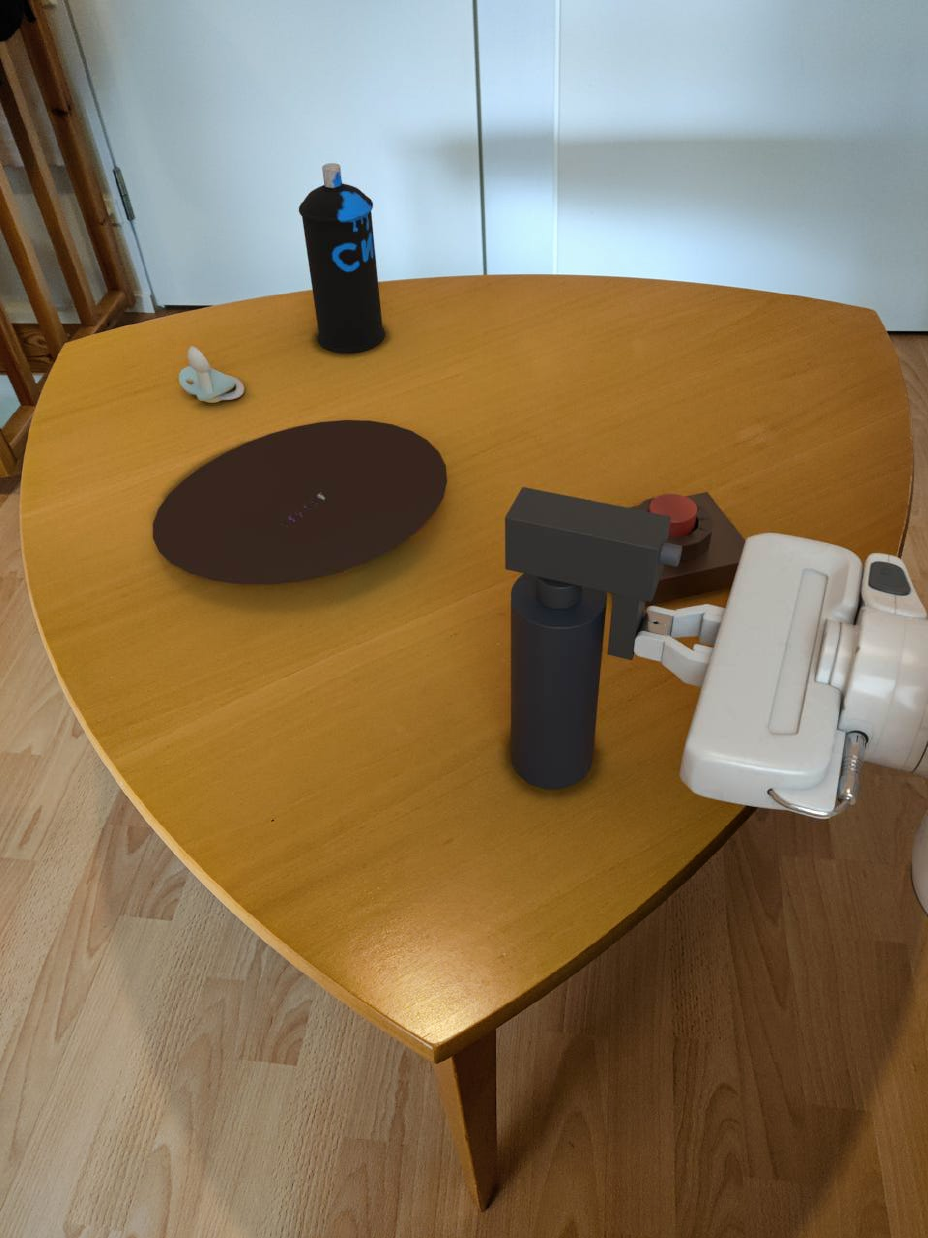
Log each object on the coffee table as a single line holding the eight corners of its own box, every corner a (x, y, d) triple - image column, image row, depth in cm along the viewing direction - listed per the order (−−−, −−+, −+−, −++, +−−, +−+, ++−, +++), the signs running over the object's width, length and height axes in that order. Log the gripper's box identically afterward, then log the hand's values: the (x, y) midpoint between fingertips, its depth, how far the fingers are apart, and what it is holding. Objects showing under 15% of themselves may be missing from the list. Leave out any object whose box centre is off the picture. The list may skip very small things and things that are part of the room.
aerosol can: (303, 342, 120) (276, 171, 106) (347, 315, 125) (326, 147, 111) (356, 360, 117) (335, 185, 103) (399, 331, 121) (384, 160, 108)
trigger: (641, 635, 63) (649, 573, 60) (631, 661, 62) (639, 599, 58) (616, 629, 64) (623, 568, 60) (606, 655, 62) (612, 593, 59)
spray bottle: (655, 751, 73) (693, 504, 58) (635, 815, 69) (670, 568, 54) (525, 716, 76) (529, 473, 60) (499, 776, 72) (496, 531, 56)
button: (682, 506, 88) (685, 489, 86) (702, 533, 85) (705, 516, 84) (640, 514, 87) (642, 498, 86) (658, 542, 84) (661, 525, 83)
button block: (703, 514, 93) (710, 475, 90) (754, 582, 86) (763, 541, 83) (582, 539, 91) (585, 499, 88) (624, 610, 84) (628, 570, 81)
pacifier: (220, 373, 116) (175, 391, 113) (210, 322, 111) (164, 340, 108) (257, 396, 112) (211, 415, 109) (248, 344, 108) (201, 363, 104)
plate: (294, 405, 110) (289, 375, 107) (505, 487, 97) (505, 455, 95) (92, 538, 94) (80, 507, 91) (314, 657, 81) (308, 625, 79)
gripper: (841, 861, 53) (590, 788, 57) (875, 612, 67) (671, 568, 71) (870, 789, 49) (596, 716, 53) (901, 539, 62) (681, 496, 66)
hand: (639, 629), depth 62 cm, fingers closed, pressing on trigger
